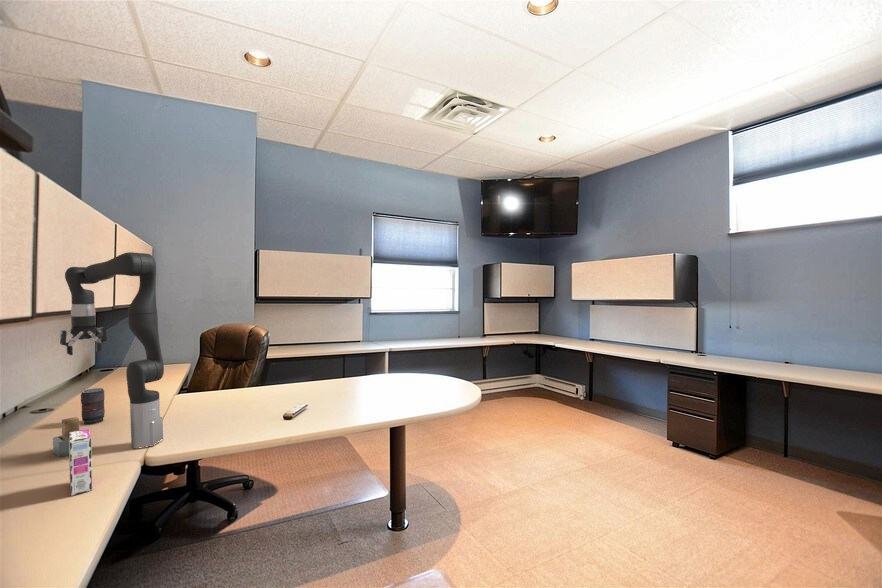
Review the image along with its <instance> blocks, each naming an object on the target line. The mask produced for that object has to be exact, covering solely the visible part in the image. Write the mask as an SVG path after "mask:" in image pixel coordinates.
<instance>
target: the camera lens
mask: <svg viewBox="0 0 882 588" xmlns="http://www.w3.org/2000/svg"><path fill="white" fill-rule="evenodd" d="M80 404H81V421H82V422H83V425H85V426H87V425H94V424H99V423H102V422H103V421H104V418H105V413H106V411H105V390H104V388H102V387H97V388H96V387H94V388H88V389H85V390H82V391H81V394H80Z"/></svg>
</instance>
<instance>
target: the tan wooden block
mask: <svg viewBox="0 0 882 588" xmlns="http://www.w3.org/2000/svg"><path fill="white" fill-rule="evenodd" d="M75 431H80V419H79V418H78V417H77V416H74V417H69V418H64V419H61V433H62V434H61V436H62V441H63V440H67V439H69V433H70V432H75Z"/></svg>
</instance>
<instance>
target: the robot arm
mask: <svg viewBox="0 0 882 588" xmlns="http://www.w3.org/2000/svg"><path fill="white" fill-rule="evenodd" d="M118 275H119V276H128V277H139V286H138V290H137V293H136V295H135V297H133V299H132V300H131V303H130V304H129V306H128V309H127V317H128V321H127V322H128V328H129V330H130V331H131V333H132V334H133V335H134V336H135V337H136V339H137V340H138V341H139V342H140V343H141V344H142V346H143V348H144V350H145V356H146V359H145V358H144V359H140V360H134V361H131V362H129V364H128V365H127V367H126V375H125V376H126V382H127V383H126V384H127V385H126V386H127V394H128V398H129V407H130V408H129V409H130V410H129V411H130V412H129V413H130V442H131V443H130V445H131V446H130V447H131V448H132V447H133V448H132V449H134V448H139V447H146V446H150V445H154V444H155V443H157V442H158V441H160V440H161V439H163V440H164V421H163V420H164V419H163V418H164V417H162V416H161V409H160V408H161V407H160V406H161V405H160V404H161V403H160V402H161V401H160V392H159V391H157V390H151V389H147V387H146V384H149V383H154V382H157V381H160V380H161V379H162V378H163V376H164V372H165V369H164V366H165V365H164V361H163V360H164V359H163V355H162V350H161V343H160V334H159V318H158V310H157V307H158V306H157V296H156V284H157V283H156V281H157V264H156V260H155V257H154V256H153V255H152V254H151V253H143V252H133V251H132V252H128V251H127V252H124V253H121V254H119V255H117V256H115V257H113V258H111V259H108V260H106V261H103V262H99V263H98V262H97V263H93V264H90V265H88V266H70V267H68V268H67V269H66V271H65V273H64V279H65V281H66V284H67V286H68V289H69V292H70V294H71V307H70V320H71V321H70V323H71V325H70V326H71V327H70V329H69V330H67V329H66V330H65V329H62V330H60V339H59V340H60V342H59V345H60V346H65V347H66V354H67V355H69V356H73V353H74V350H73V348H74V347H73V345H74V344H75V342H77V341H78V340H89V339H91V340H93V341H94V342H95V344H94V345H95V353H100V351H102V343H104V342H107V340H108V339H107V328H106V327H104V326H101V327H97V326H96V324H97V322H96V318H97V317H96V316H97V315H96V313H97V312H96V306H95V292H94V291H93V290H91V289H86V288H84V287H83V286H82V285H94V284H97V283H99V282H101V281H105V280H110V279H112V278H114V277H116V276H118ZM97 332H98V333H99V334H100V338H99V337H98V336H96V333H97ZM69 334H71V335H72V337H70V339H69V340H68V342H67V336H69Z"/></svg>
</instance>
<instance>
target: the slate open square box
mask: <svg viewBox="0 0 882 588" xmlns="http://www.w3.org/2000/svg"><path fill="white" fill-rule="evenodd" d="M52 451H53V453H54V454H55V455H56V456H57V457H58V458H61V457H66V456H69V439H67V440H63V441H62V435H59V436H53V437H52Z"/></svg>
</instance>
